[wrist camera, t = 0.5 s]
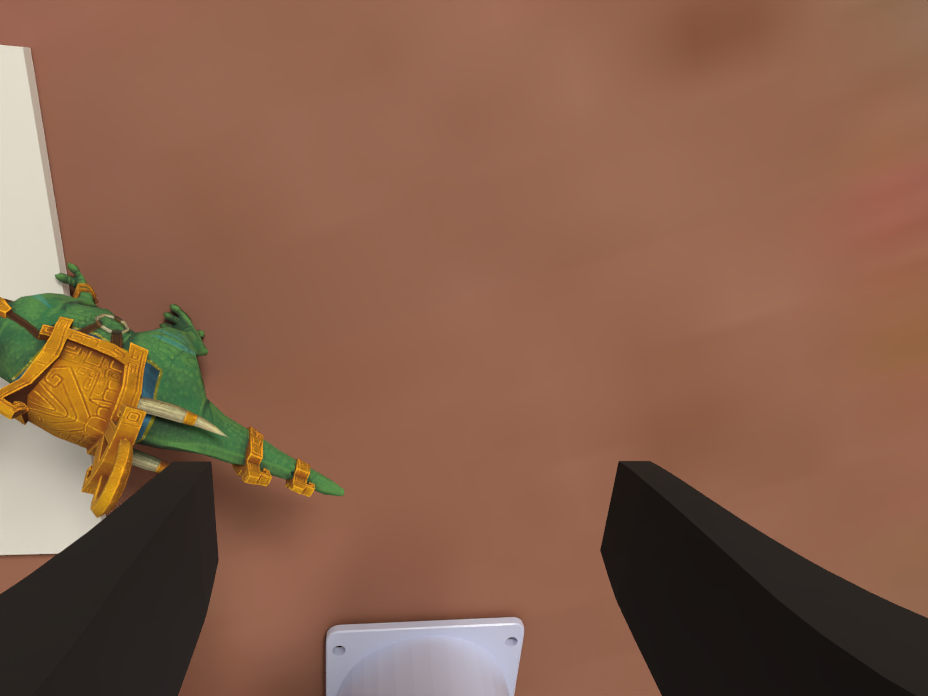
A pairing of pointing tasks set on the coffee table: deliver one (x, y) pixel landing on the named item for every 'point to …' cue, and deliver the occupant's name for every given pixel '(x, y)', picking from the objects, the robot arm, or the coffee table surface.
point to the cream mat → (23, 274)
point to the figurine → (124, 393)
